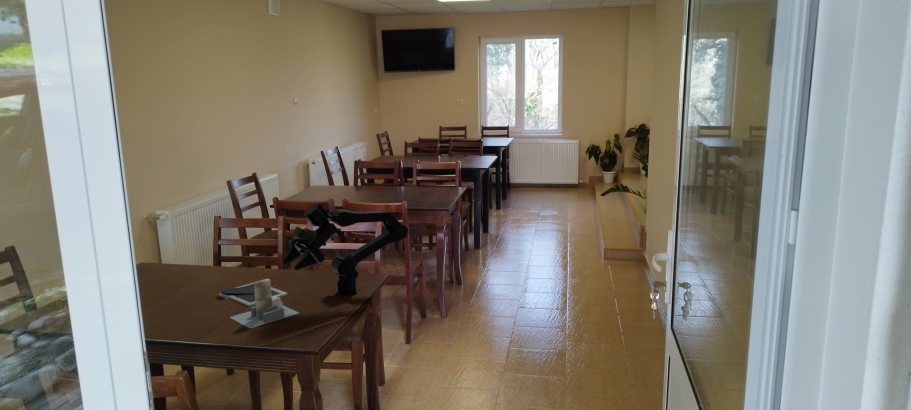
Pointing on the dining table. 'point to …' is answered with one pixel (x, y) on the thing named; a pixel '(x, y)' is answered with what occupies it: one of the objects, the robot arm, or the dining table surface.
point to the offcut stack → (276, 301)
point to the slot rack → (263, 315)
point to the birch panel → (262, 294)
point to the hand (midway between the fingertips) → (289, 266)
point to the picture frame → (246, 294)
